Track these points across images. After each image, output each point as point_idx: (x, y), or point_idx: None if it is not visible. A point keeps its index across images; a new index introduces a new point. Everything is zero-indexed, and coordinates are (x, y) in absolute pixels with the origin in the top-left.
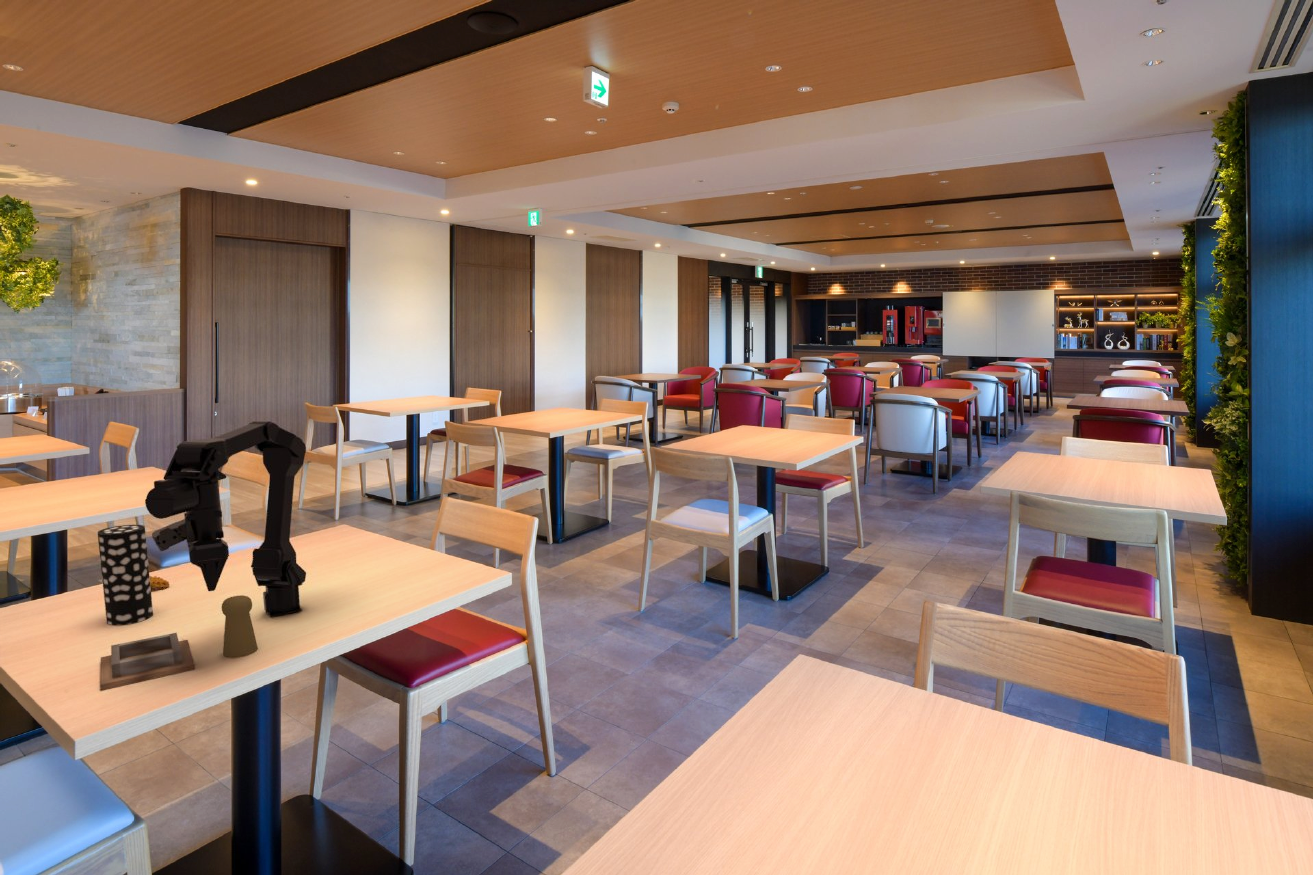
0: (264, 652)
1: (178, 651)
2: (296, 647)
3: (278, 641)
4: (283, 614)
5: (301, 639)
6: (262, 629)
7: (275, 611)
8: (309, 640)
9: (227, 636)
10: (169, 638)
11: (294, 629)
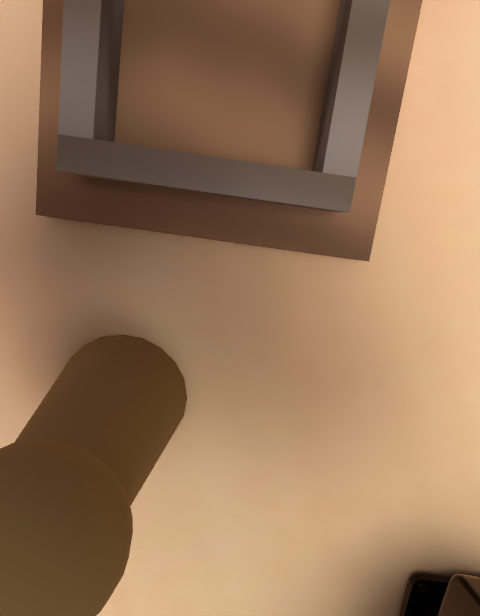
0: None
1: (60, 159)
2: None
3: None
4: (400, 613)
5: None
6: (304, 514)
7: (433, 605)
8: None
9: (64, 383)
10: (320, 171)
11: (213, 593)
